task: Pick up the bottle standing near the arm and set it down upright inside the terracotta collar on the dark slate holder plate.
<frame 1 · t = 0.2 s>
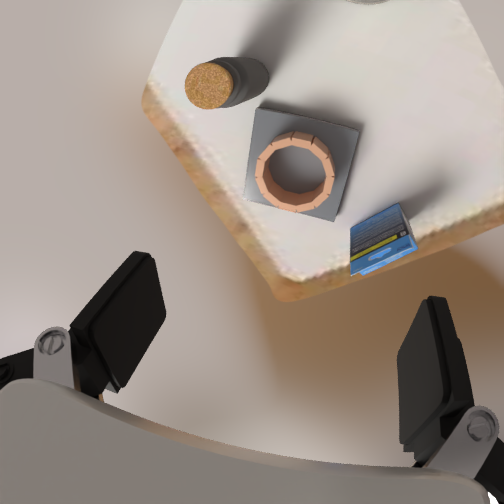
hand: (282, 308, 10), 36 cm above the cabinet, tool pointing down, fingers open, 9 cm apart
holder: (298, 163, 44), on the cabinet
bottle: (248, 77, 39), on the cabinet
label tape box: (378, 223, 46), on the cabinet
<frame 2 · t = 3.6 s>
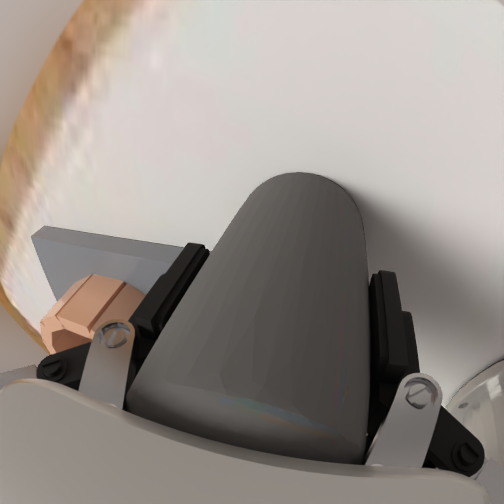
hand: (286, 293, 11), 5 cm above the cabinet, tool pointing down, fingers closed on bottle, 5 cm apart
holder: (137, 318, 22), on the cabinet
bottle: (301, 228, 15), on the cabinet, touching gripper
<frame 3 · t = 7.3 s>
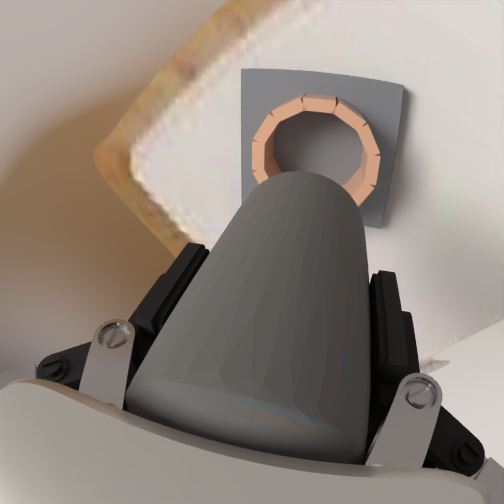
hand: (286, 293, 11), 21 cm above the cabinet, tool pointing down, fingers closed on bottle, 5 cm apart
holder: (318, 145, 28), on the cabinet
bottle: (302, 226, 15), point 16 cm above the cabinet, touching gripper
when the fingers open (7 cm above the cabinet, at t = 10.8 s): bottle drops 1 cm, resting on holder.
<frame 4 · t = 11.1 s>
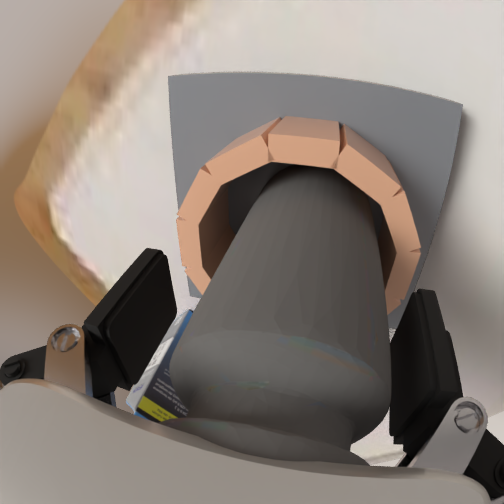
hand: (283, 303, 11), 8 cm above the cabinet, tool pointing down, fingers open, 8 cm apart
holder: (306, 203, 17), on the cabinet
bottle: (314, 213, 16), point 1 cm above the cabinet, touching holder
label tape box: (218, 345, 26), on the cabinet
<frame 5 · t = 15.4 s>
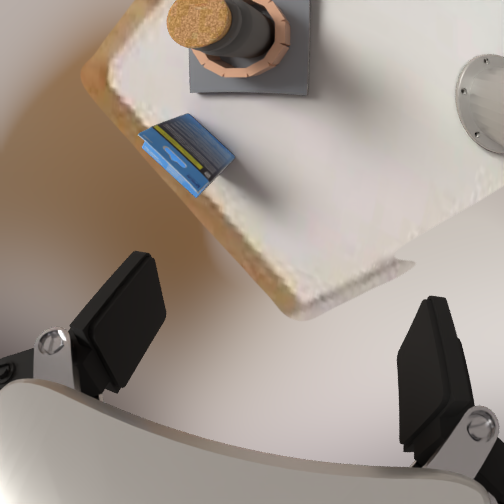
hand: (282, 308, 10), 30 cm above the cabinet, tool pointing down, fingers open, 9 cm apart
holder: (249, 36, 30), on the cabinet
bottle: (250, 34, 29), point 1 cm above the cabinet, touching holder
label tape box: (204, 142, 40), on the cabinet
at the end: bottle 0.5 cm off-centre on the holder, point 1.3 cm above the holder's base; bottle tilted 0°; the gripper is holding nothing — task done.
